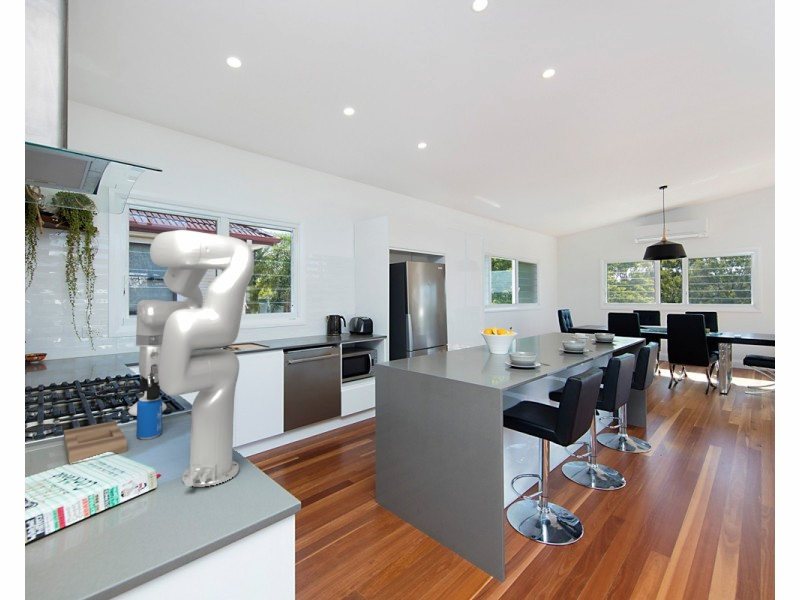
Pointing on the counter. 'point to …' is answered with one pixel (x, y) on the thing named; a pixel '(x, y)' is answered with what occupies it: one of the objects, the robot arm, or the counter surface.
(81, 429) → the block
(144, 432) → the beverage can
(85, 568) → the counter surface
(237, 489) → the counter surface
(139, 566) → the counter surface
